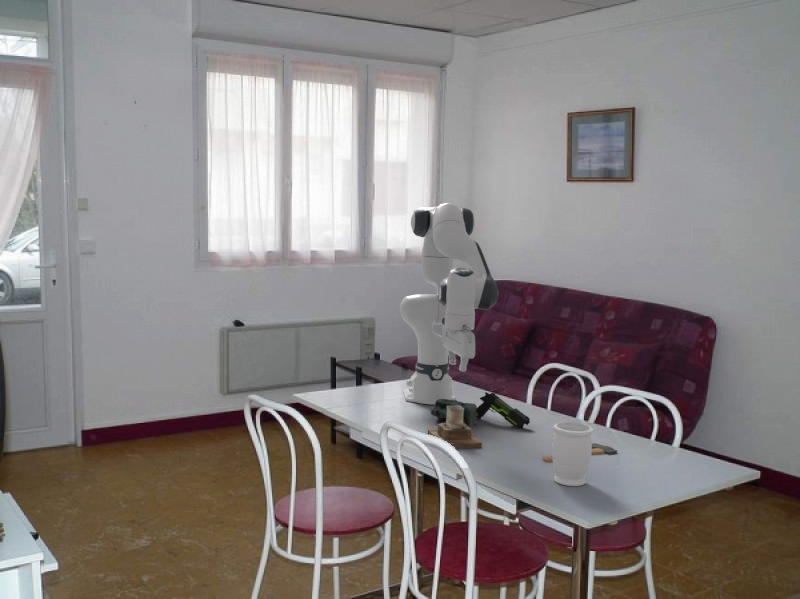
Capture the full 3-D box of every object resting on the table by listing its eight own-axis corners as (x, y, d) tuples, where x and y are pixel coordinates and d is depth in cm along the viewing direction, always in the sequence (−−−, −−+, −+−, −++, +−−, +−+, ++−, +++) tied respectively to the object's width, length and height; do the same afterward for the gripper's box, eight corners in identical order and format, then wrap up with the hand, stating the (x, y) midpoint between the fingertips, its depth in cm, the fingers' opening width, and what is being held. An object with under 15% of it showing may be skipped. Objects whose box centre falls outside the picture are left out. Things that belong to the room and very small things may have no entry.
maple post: (458, 433, 260) (459, 405, 259) (462, 437, 256) (464, 408, 255) (445, 434, 259) (446, 405, 258) (449, 438, 255) (451, 409, 254)
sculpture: (429, 412, 275) (473, 424, 272) (435, 391, 277) (479, 402, 274) (431, 421, 286) (474, 432, 283) (437, 400, 288) (479, 411, 285)
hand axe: (595, 440, 260) (619, 449, 252) (594, 445, 260) (618, 454, 252) (528, 451, 246) (551, 461, 238) (528, 456, 247) (551, 466, 238)
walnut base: (427, 434, 263) (428, 420, 263) (463, 432, 267) (464, 418, 266) (443, 449, 248) (444, 434, 248) (481, 447, 251) (482, 433, 251)
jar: (594, 488, 219) (598, 432, 217) (555, 488, 218) (559, 432, 217) (582, 475, 230) (586, 421, 228) (545, 474, 229) (548, 421, 227)
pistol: (531, 429, 275) (532, 399, 273) (526, 431, 272) (528, 401, 271) (475, 417, 287) (477, 388, 285) (470, 419, 284) (472, 390, 283)
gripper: (481, 328, 244) (479, 375, 245) (458, 317, 263) (456, 360, 265) (461, 328, 242) (458, 375, 244) (439, 317, 262) (437, 361, 263)
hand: (457, 367), depth 255 cm, fingers open, 8 cm apart
